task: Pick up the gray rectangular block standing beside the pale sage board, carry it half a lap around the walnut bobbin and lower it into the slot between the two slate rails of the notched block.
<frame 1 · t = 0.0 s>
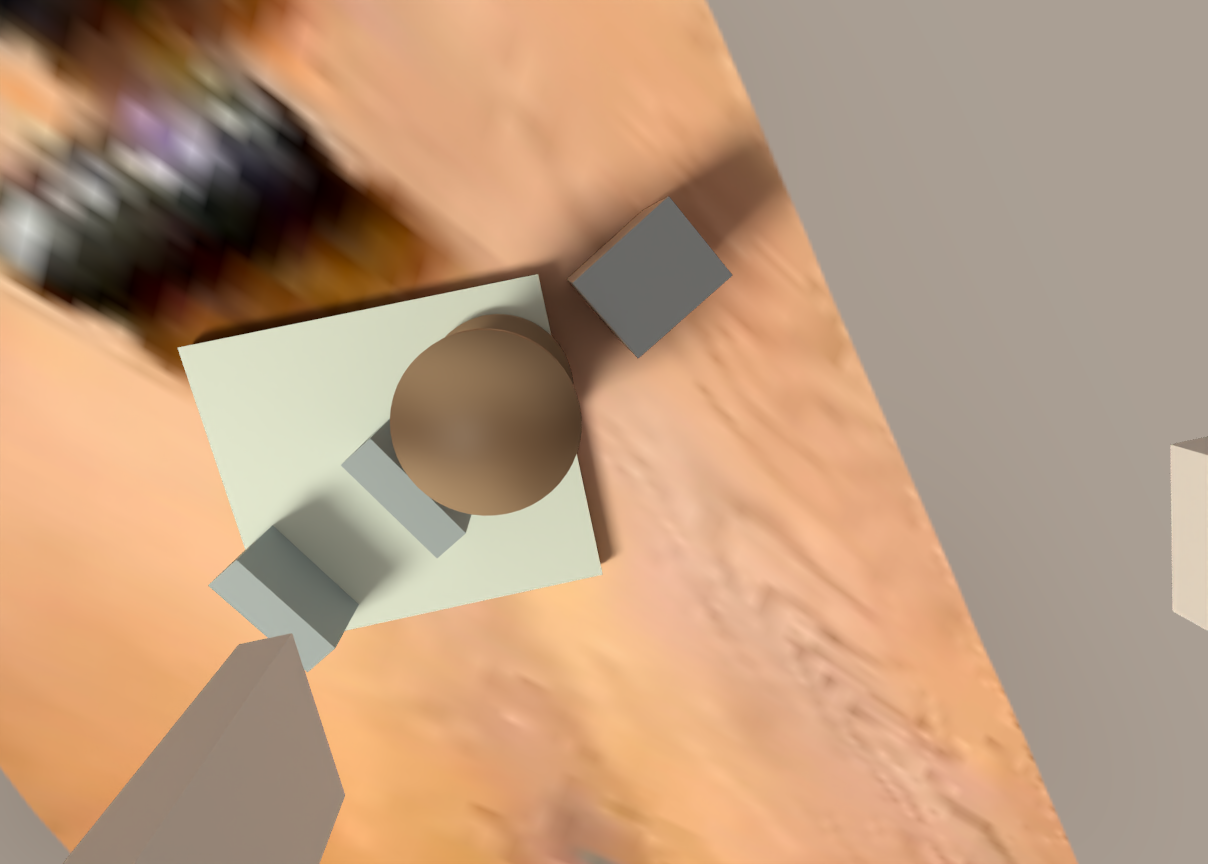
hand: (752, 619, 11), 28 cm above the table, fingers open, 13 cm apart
gray rectangular block: (630, 275, 37), on the table
notch: (366, 518, 39), resting on board
board: (405, 462, 38), on the table
bobbin: (501, 383, 38), resting on board
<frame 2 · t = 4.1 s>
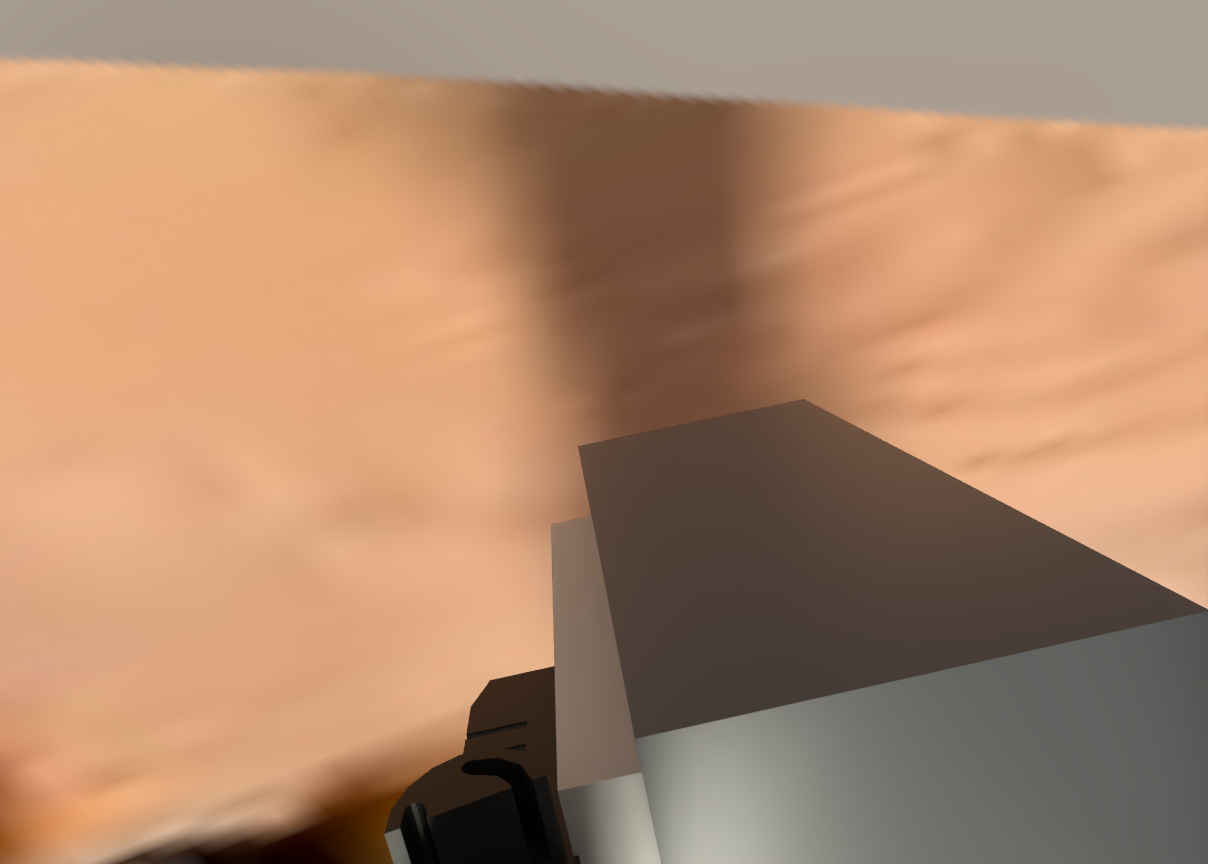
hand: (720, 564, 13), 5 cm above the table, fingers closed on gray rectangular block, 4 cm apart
gray rectangular block: (714, 555, 13), point 5 cm above the table, touching gripper
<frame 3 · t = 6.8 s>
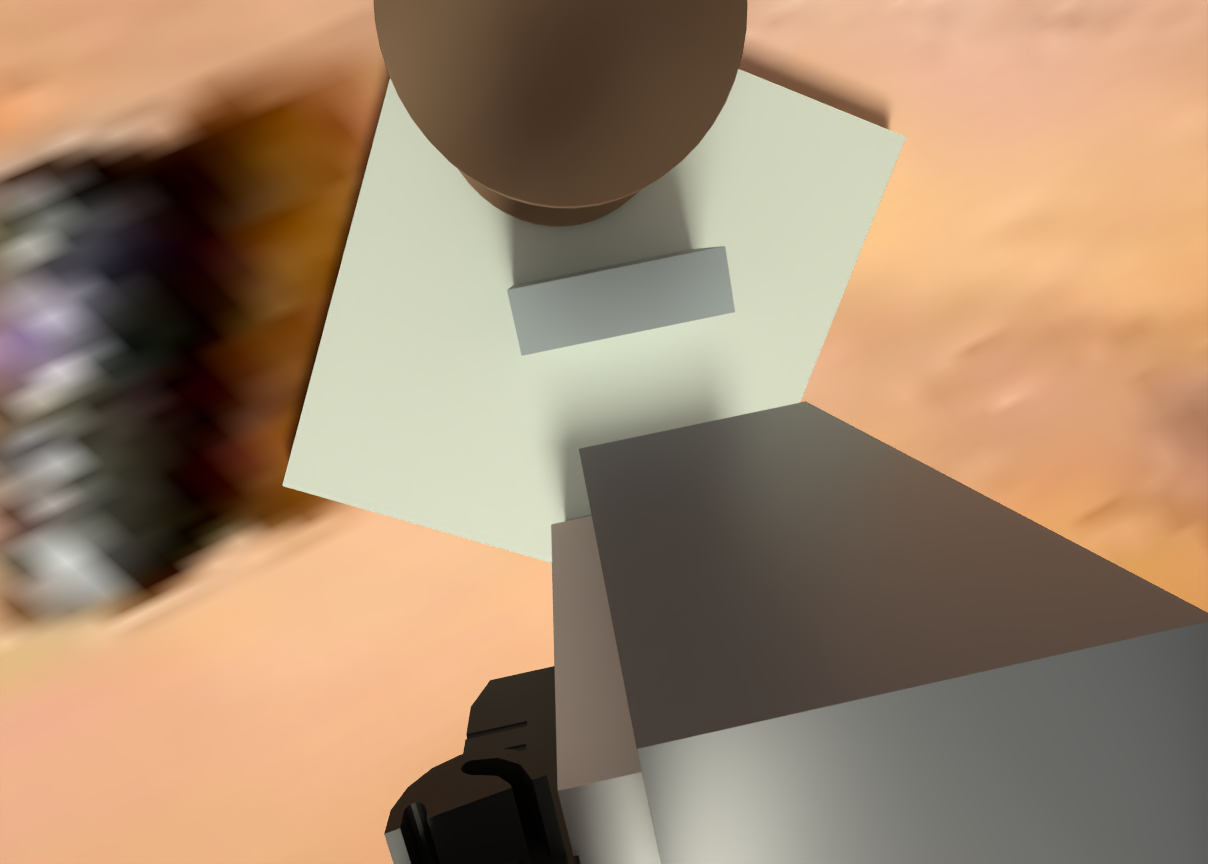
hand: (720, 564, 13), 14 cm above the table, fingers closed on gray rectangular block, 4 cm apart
gray rectangular block: (715, 557, 13), point 13 cm above the table, touching gripper
notch: (628, 408, 26), resting on board
board: (586, 312, 25), on the table
bobbin: (555, 113, 24), resting on board
when the fingers open (2 cm above the table, at t = 9.5 s): gray rectangular block stays where it is, resting on board.
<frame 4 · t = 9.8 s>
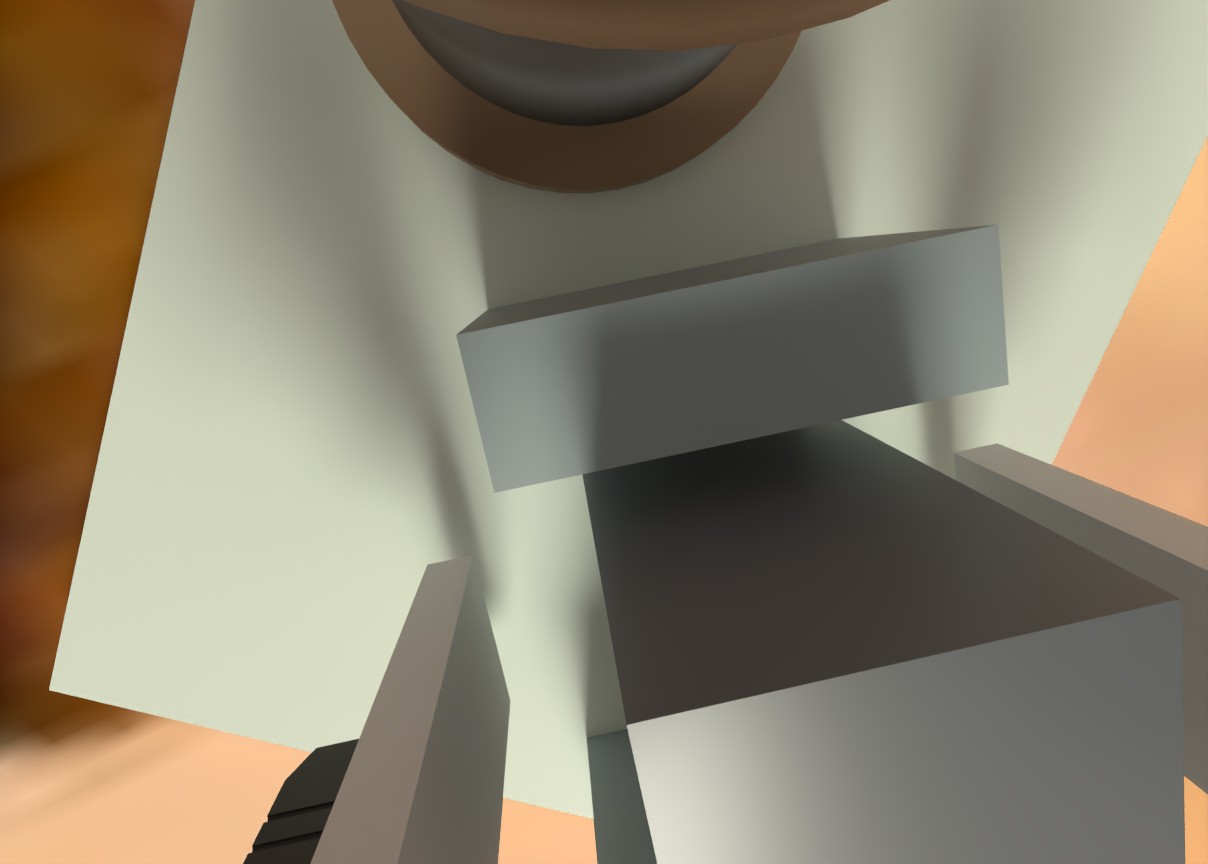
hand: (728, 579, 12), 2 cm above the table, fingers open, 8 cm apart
gray rectangular block: (712, 551, 13), point 1 cm above the table, touching board
notch: (700, 531, 14), resting on board
board: (627, 358, 14), on the table
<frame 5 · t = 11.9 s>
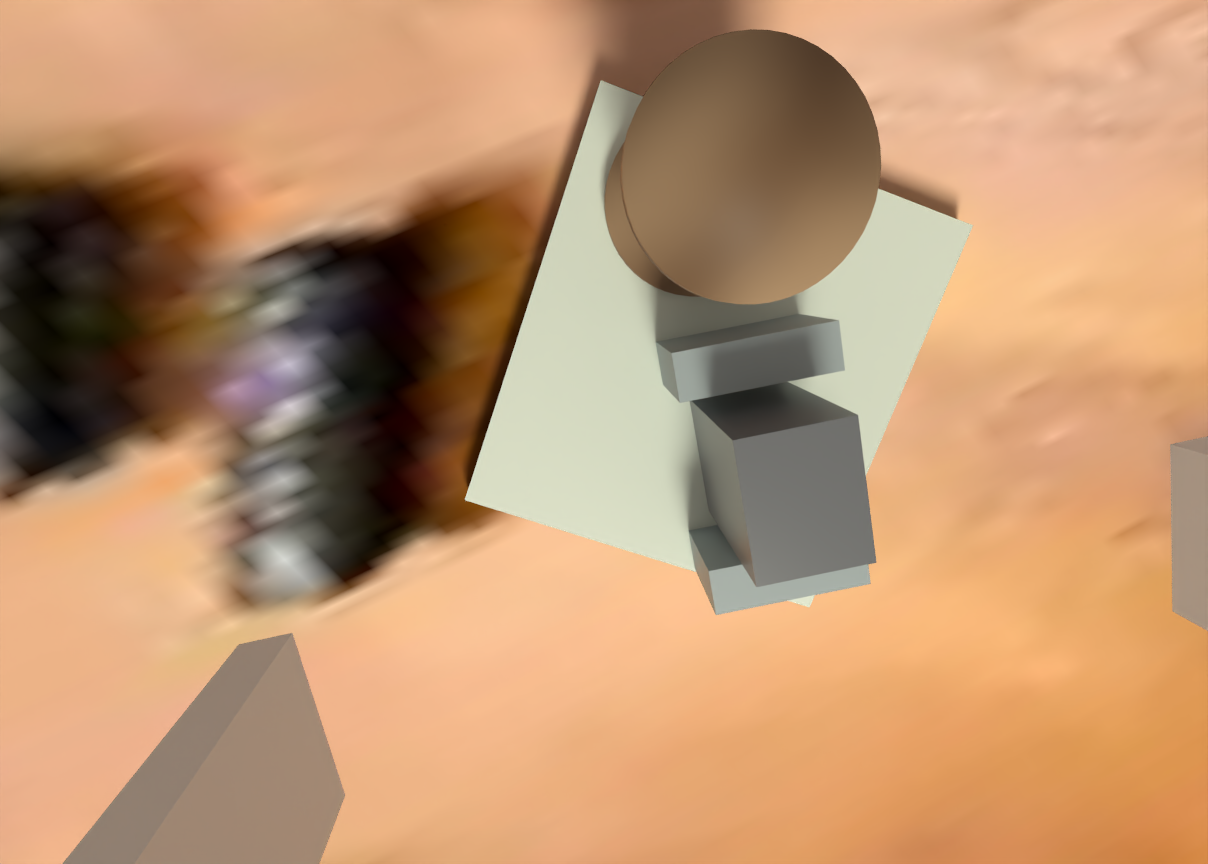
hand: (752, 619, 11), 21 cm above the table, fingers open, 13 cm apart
gray rectangular block: (745, 446, 31), point 1 cm above the table, touching board
notch: (739, 440, 32), resting on board
board: (709, 362, 31), on the table
bobbin: (690, 206, 30), resting on board
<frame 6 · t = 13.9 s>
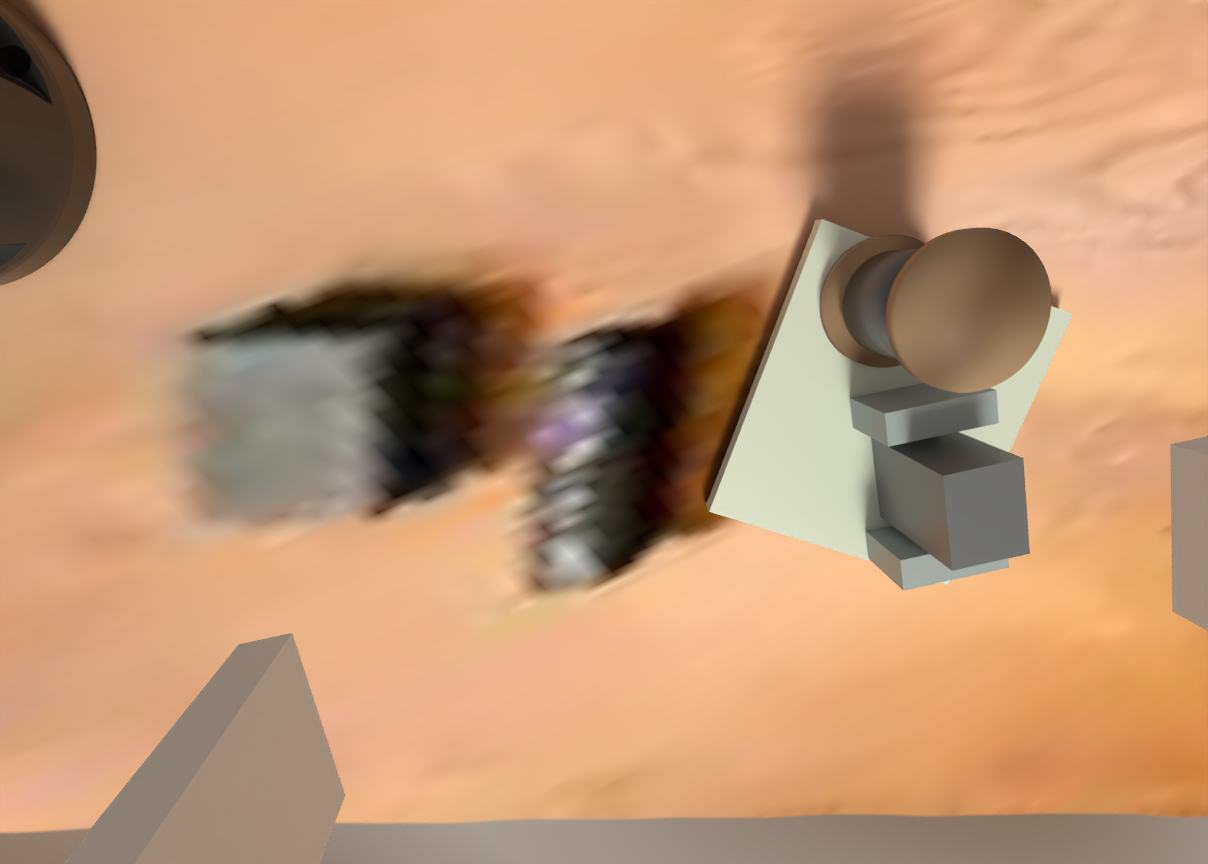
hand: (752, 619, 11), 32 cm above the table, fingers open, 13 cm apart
gray rectangular block: (908, 470, 44), point 1 cm above the table, touching board
notch: (900, 465, 45), resting on board
board: (881, 410, 44), on the table
bobbin: (874, 301, 42), resting on board
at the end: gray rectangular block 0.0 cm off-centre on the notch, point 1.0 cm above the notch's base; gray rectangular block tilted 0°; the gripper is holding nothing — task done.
